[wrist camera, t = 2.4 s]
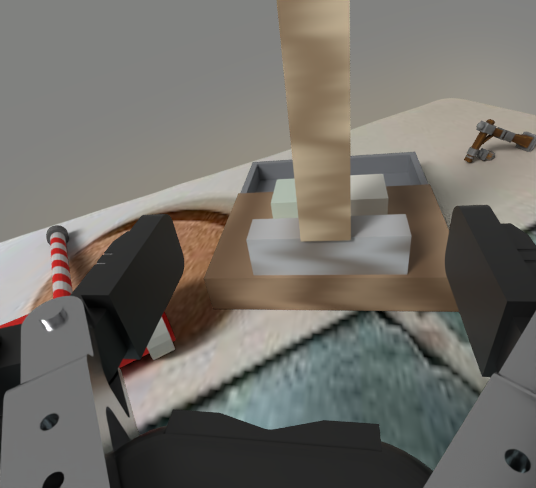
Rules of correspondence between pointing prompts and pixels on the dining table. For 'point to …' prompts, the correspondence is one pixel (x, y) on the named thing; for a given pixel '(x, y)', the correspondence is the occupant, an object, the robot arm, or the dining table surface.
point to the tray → (390, 165)
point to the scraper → (323, 160)
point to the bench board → (336, 286)
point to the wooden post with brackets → (522, 141)
